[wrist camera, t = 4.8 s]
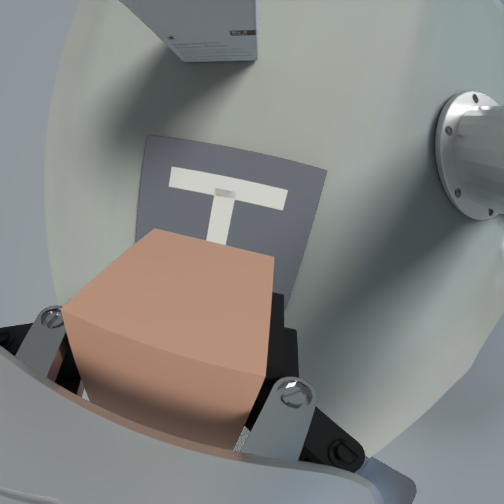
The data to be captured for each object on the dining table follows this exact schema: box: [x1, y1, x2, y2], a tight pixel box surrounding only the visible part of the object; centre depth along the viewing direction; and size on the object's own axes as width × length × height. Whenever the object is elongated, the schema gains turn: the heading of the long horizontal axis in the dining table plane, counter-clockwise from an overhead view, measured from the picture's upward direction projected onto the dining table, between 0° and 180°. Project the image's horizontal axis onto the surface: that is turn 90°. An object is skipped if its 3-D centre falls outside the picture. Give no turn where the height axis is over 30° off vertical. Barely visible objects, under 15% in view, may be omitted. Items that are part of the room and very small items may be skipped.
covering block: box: [61, 228, 274, 451], centre depth 9 cm, size 5×5×6 cm
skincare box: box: [119, 0, 260, 62], centre depth 10 cm, size 6×4×12 cm
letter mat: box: [136, 135, 327, 312], centre depth 22 cm, size 14×13×1 cm
